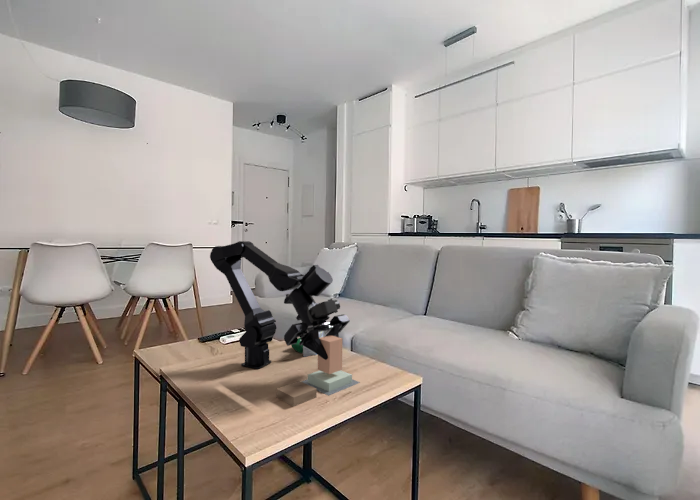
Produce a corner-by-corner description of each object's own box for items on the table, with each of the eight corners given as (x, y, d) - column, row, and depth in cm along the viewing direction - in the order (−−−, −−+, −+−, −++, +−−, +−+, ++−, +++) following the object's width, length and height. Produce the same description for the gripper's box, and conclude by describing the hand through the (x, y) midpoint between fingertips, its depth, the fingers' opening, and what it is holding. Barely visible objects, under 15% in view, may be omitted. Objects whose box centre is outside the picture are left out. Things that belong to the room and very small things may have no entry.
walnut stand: (276, 401, 82) (276, 388, 82) (298, 393, 87) (298, 380, 87) (293, 411, 77) (293, 397, 77) (316, 401, 82) (316, 388, 82)
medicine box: (316, 358, 112) (316, 331, 112) (302, 357, 113) (302, 330, 113) (323, 351, 120) (323, 325, 120) (310, 349, 121) (311, 324, 121)
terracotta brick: (317, 369, 91) (318, 338, 91) (330, 365, 94) (330, 335, 94) (329, 374, 88) (329, 341, 88) (342, 369, 91) (342, 338, 91)
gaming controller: (313, 351, 126) (303, 337, 128) (319, 344, 124) (309, 331, 127) (296, 358, 118) (286, 343, 120) (302, 351, 117) (292, 337, 119)
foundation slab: (307, 382, 91) (307, 374, 91) (330, 374, 97) (330, 366, 97) (329, 391, 85) (329, 383, 85) (352, 382, 91) (352, 374, 91)
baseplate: (299, 386, 91) (299, 382, 91) (330, 374, 99) (330, 371, 99) (328, 399, 83) (328, 395, 83) (360, 386, 91) (360, 382, 91)
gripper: (291, 291, 86) (321, 346, 79) (345, 285, 100) (375, 332, 92) (272, 319, 92) (298, 372, 85) (325, 309, 105) (352, 355, 98)
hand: (333, 356), depth 90 cm, fingers closed on terracotta brick, 4 cm apart
